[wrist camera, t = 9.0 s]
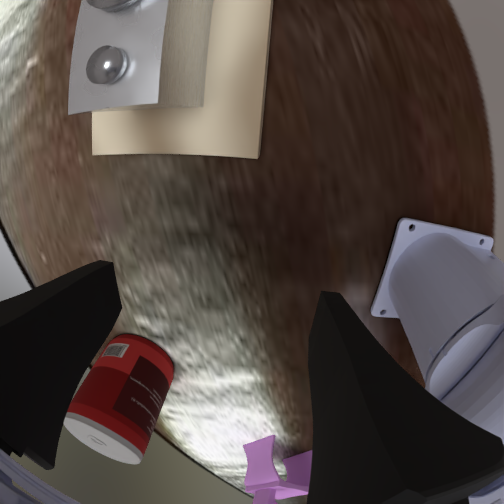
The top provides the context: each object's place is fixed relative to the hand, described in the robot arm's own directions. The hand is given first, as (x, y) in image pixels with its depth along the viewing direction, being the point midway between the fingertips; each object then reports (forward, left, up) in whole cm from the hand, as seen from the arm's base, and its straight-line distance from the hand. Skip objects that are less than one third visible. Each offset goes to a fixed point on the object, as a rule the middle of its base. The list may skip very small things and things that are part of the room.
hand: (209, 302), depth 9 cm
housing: (+5, -10, -8) cm, 14 cm away
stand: (+5, -10, -10) cm, 15 cm away
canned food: (+10, +17, -10) cm, 22 cm away
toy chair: (-7, +34, -10) cm, 36 cm away
